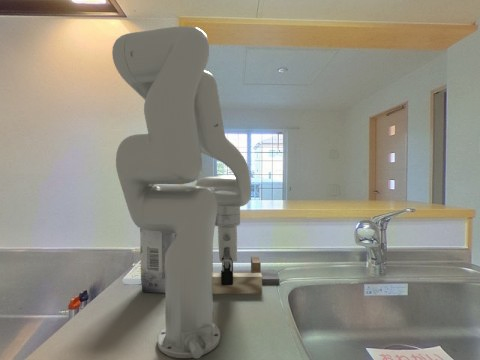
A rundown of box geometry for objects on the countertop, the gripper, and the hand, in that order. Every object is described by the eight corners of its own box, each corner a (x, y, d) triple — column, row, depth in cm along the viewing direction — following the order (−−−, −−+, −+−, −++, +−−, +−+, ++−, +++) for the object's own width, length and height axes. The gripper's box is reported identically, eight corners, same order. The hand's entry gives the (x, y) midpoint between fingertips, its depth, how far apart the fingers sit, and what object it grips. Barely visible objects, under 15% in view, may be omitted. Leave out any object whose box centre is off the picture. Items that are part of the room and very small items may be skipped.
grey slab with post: (279, 283, 90) (279, 262, 90) (233, 284, 90) (233, 262, 89) (275, 274, 98) (275, 254, 98) (233, 274, 98) (233, 255, 97)
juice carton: (179, 280, 92) (179, 194, 91) (168, 295, 82) (167, 198, 81) (152, 279, 93) (151, 194, 92) (137, 293, 83) (136, 197, 82)
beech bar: (260, 289, 86) (261, 272, 86) (261, 294, 83) (262, 276, 83) (192, 290, 86) (192, 273, 86) (190, 294, 83) (190, 277, 83)
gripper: (241, 226, 76) (241, 290, 77) (239, 213, 93) (239, 266, 94) (211, 226, 75) (212, 291, 77) (215, 213, 93) (216, 266, 94)
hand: (227, 277), depth 85 cm, fingers open, 9 cm apart
